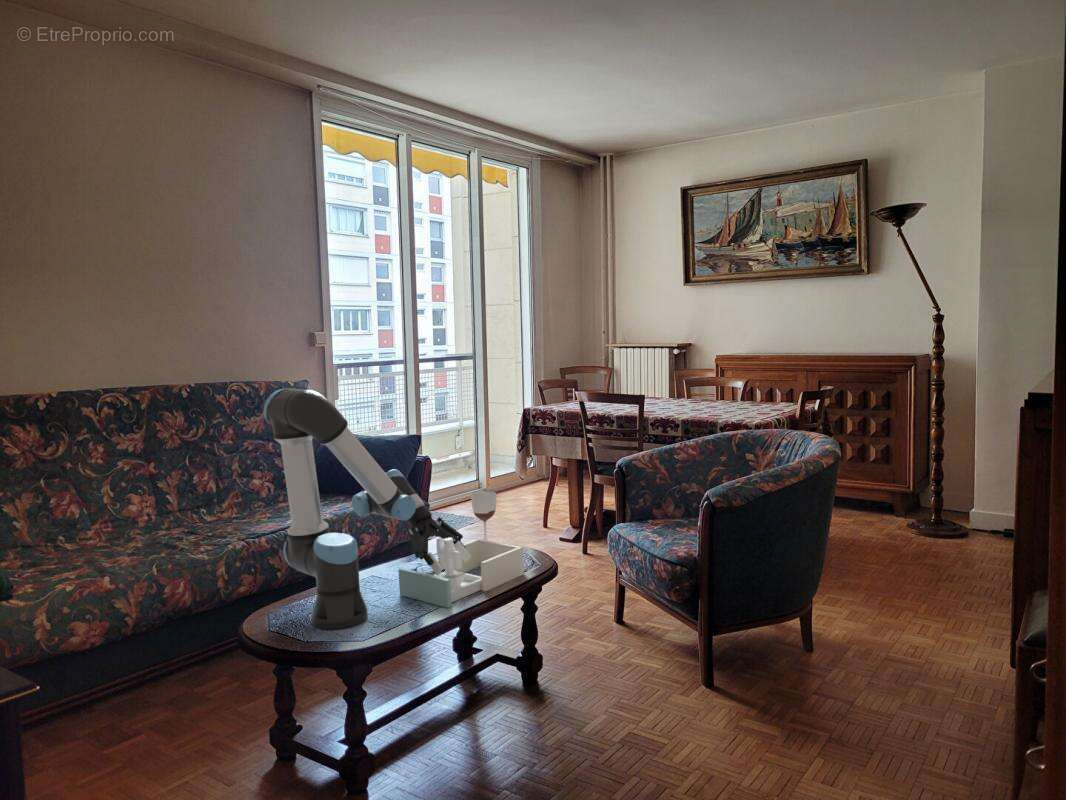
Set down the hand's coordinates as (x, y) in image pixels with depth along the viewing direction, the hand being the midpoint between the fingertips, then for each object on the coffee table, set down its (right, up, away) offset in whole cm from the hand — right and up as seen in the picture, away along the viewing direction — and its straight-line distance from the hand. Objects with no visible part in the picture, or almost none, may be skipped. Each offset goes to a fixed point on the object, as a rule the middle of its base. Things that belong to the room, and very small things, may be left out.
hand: (454, 566), depth 235 cm
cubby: (+7, -7, +14) cm, 17 cm away
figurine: (-2, -7, +2) cm, 8 cm away
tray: (-3, -8, +1) cm, 9 cm away
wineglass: (+7, -5, +37) cm, 38 cm away
